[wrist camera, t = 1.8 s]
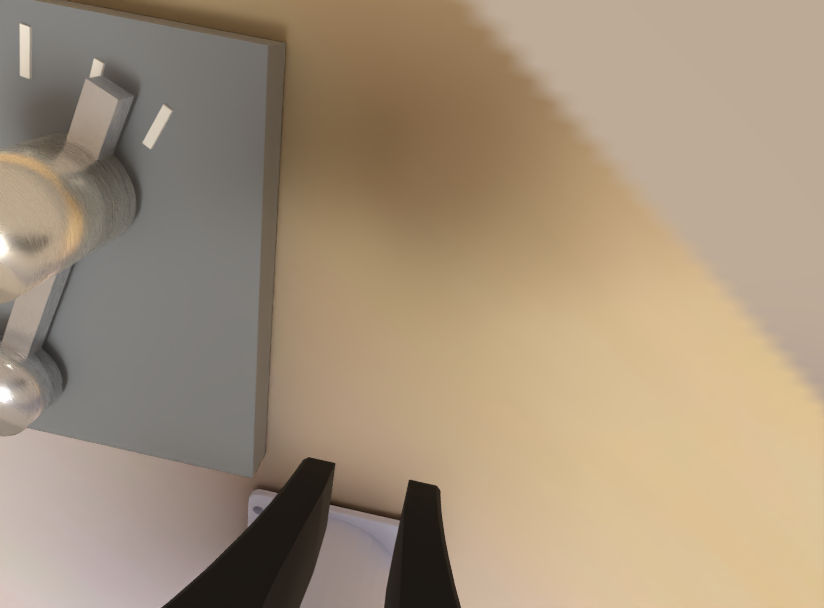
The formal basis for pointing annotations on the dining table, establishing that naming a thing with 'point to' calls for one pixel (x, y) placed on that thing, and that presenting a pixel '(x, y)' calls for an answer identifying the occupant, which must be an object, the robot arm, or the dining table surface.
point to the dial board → (161, 229)
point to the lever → (55, 236)
